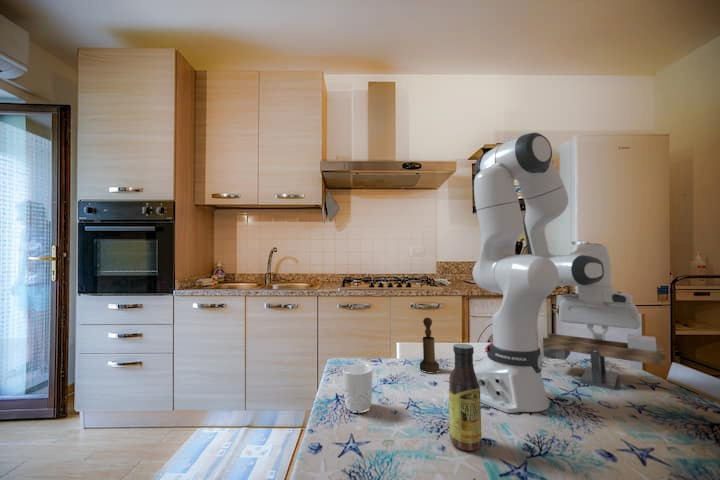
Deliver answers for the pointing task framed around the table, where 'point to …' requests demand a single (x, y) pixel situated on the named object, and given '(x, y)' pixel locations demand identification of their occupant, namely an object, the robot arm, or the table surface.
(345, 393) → the white cup
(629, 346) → the steel rider
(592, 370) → the beam stand
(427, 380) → the table surface
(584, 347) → the balance beam
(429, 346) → the mortar and pestle
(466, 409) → the sauce bottle
